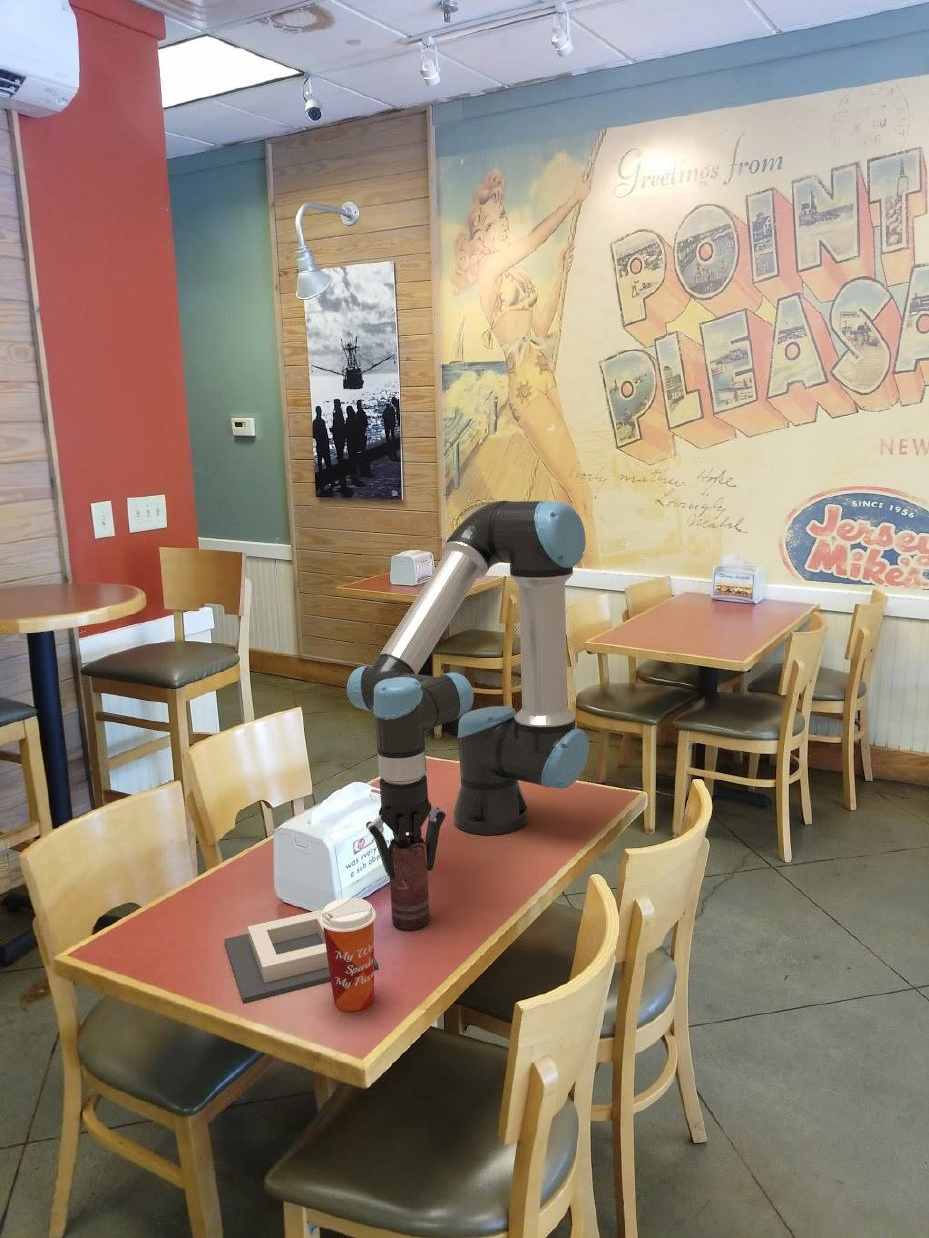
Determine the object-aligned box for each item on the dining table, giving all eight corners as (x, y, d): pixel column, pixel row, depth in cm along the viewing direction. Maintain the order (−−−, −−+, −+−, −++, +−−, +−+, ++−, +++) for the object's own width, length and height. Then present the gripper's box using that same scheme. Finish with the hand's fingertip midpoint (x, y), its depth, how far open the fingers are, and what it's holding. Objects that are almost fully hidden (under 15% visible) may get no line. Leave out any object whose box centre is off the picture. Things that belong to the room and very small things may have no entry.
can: (426, 932, 154) (422, 850, 151) (387, 929, 155) (383, 848, 153) (435, 914, 160) (431, 834, 157) (397, 911, 161) (393, 832, 158)
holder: (329, 922, 157) (328, 908, 156) (350, 961, 145) (349, 946, 145) (249, 941, 152) (247, 926, 152) (264, 982, 140) (262, 967, 140)
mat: (346, 915, 161) (346, 910, 161) (378, 968, 144) (378, 963, 144) (224, 943, 154) (224, 938, 153) (243, 1003, 137) (242, 998, 137)
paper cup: (343, 1023, 131) (336, 928, 129) (317, 998, 137) (309, 907, 135) (392, 1001, 136) (386, 909, 133) (364, 978, 142) (358, 890, 139)
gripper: (433, 761, 158) (441, 894, 163) (356, 775, 154) (367, 911, 159) (450, 776, 152) (458, 913, 156) (370, 791, 147) (380, 933, 152)
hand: (412, 912), depth 157 cm, fingers closed
